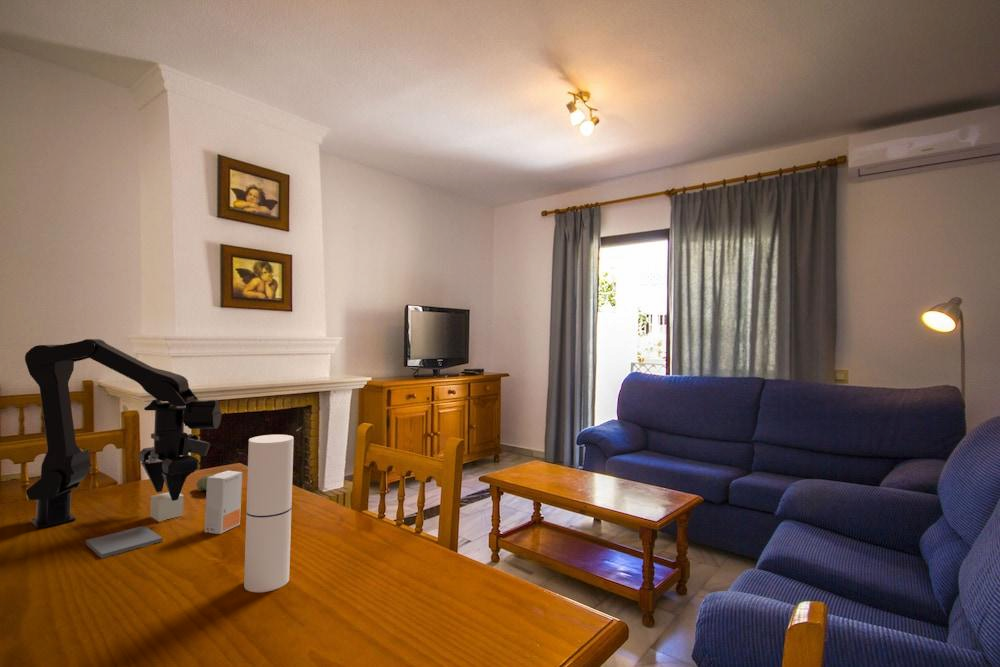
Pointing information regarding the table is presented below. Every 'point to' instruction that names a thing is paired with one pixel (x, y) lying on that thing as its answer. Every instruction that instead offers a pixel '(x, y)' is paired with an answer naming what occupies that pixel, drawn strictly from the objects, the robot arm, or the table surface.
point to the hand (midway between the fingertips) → (166, 496)
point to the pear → (203, 483)
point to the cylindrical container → (268, 512)
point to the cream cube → (166, 506)
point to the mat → (123, 541)
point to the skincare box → (223, 501)
